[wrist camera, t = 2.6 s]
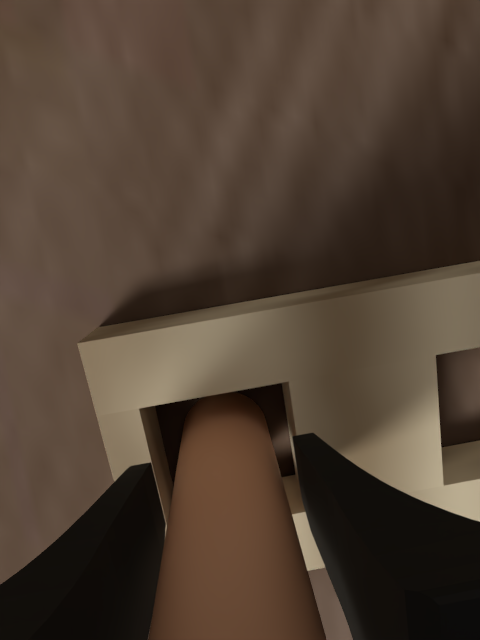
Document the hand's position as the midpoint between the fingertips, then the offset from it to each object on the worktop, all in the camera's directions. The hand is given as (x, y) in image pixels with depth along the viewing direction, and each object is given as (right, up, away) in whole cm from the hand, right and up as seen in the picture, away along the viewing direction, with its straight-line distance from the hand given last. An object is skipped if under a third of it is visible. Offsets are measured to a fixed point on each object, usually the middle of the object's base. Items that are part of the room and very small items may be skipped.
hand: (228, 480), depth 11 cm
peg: (0, +1, +3) cm, 3 cm away
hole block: (+4, +1, +3) cm, 5 cm away
